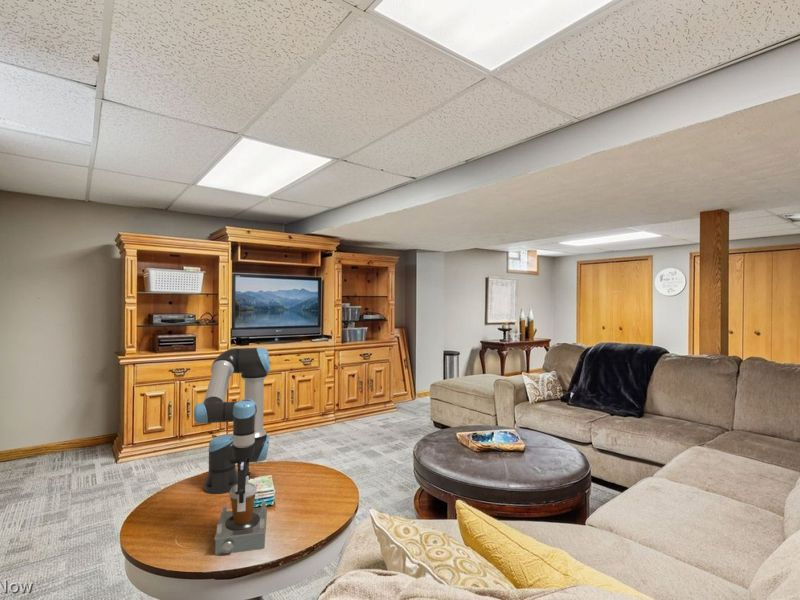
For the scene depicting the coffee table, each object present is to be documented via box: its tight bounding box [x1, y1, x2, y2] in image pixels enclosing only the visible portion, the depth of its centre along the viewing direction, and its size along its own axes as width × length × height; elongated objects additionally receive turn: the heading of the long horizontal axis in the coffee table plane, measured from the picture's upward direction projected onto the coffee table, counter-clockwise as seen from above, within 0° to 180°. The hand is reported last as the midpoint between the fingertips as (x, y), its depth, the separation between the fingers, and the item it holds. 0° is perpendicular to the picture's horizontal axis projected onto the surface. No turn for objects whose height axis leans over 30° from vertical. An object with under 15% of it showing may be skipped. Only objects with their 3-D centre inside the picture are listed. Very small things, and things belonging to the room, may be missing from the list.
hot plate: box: [214, 501, 268, 556], centre depth 156 cm, size 20×17×9 cm
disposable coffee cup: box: [228, 482, 258, 525], centre depth 156 cm, size 10×10×12 cm
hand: (243, 502), depth 157 cm, fingers open, 13 cm apart
